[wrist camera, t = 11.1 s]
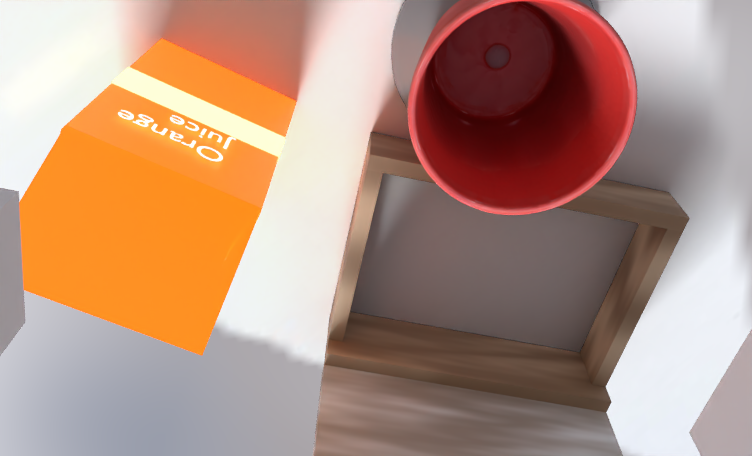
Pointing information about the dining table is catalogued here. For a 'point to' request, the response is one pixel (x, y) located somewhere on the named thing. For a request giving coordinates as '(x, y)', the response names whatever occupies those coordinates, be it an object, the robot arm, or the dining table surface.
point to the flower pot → (521, 103)
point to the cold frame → (481, 350)
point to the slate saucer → (416, 37)
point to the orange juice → (154, 195)
